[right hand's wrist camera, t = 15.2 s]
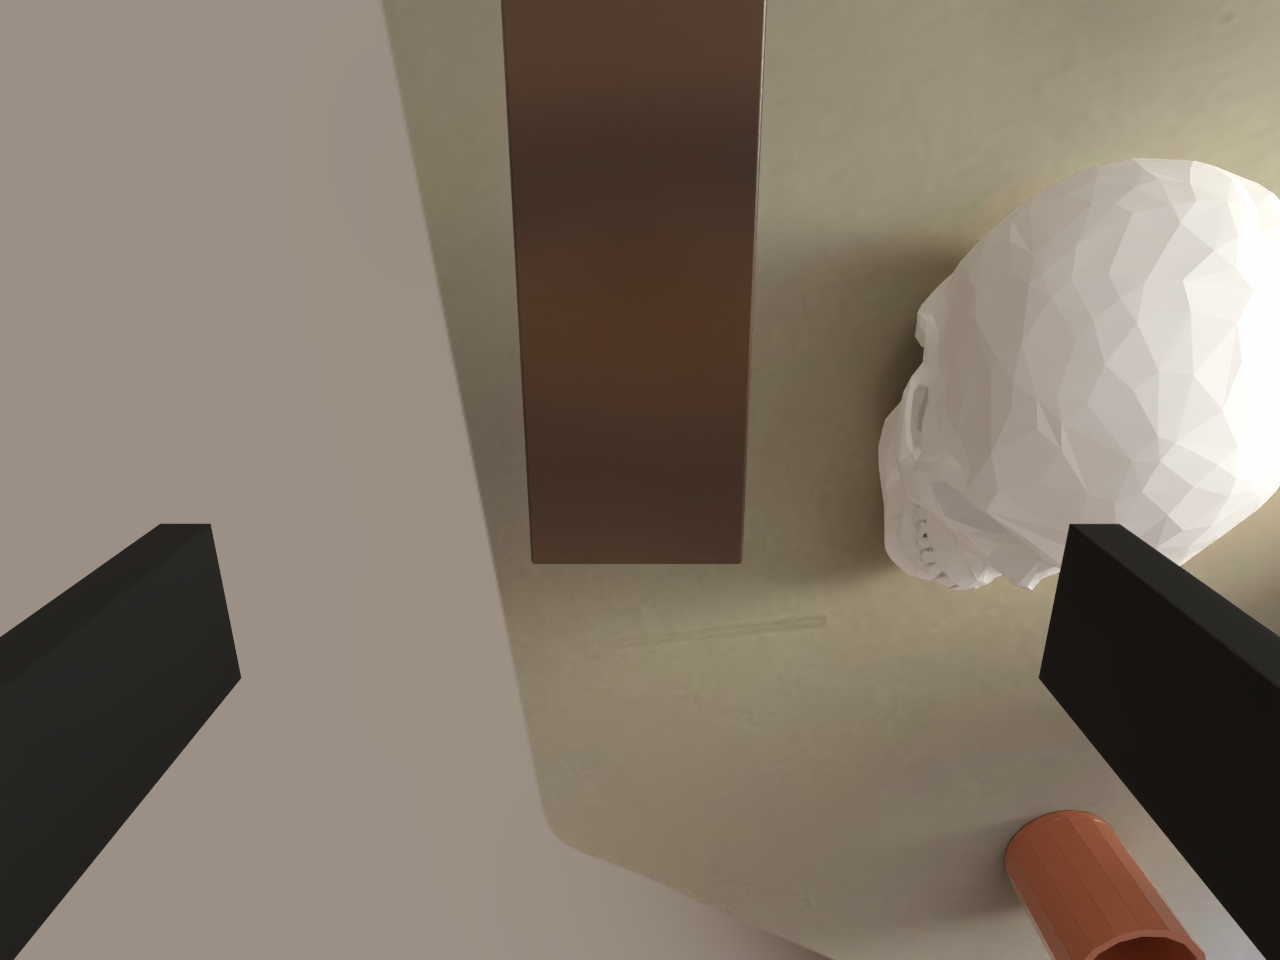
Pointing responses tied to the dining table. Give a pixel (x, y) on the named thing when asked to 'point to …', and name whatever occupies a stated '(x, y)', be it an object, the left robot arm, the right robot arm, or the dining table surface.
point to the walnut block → (635, 271)
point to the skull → (1092, 377)
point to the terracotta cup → (1092, 893)
